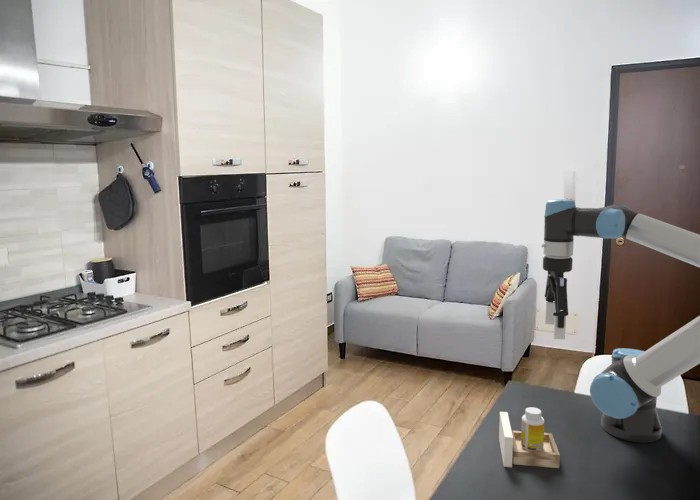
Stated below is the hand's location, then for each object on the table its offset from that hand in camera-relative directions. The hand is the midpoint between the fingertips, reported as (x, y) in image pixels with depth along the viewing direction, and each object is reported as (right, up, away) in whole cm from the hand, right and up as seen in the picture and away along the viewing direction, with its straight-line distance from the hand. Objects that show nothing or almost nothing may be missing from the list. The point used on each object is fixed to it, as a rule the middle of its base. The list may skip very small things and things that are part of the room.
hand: (554, 331), depth 150 cm
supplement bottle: (-10, -29, -10) cm, 32 cm away
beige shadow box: (-9, -31, -10) cm, 34 cm away
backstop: (-16, -31, -8) cm, 36 cm away
